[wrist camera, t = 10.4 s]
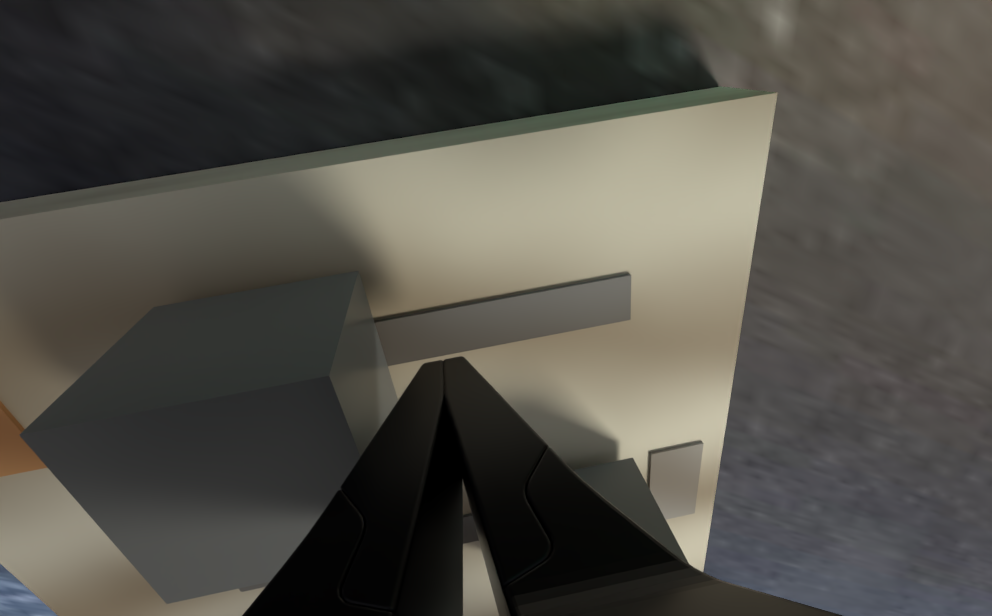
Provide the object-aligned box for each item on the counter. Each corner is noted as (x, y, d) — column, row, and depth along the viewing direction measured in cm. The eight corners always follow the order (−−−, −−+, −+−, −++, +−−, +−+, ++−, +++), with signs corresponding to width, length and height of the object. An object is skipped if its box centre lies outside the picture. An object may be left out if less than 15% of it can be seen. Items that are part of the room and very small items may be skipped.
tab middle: (630, 544, 15) (684, 667, 12) (510, 570, 15) (533, 704, 12) (632, 457, 13) (697, 579, 10) (493, 486, 13) (516, 620, 10)
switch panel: (669, 600, 22) (692, 650, 20) (236, 701, 21) (218, 764, 19) (720, 86, 11) (781, 92, 9) (-191, 232, 10) (-331, 274, 8)
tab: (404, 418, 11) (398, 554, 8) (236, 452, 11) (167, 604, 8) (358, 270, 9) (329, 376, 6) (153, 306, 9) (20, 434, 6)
